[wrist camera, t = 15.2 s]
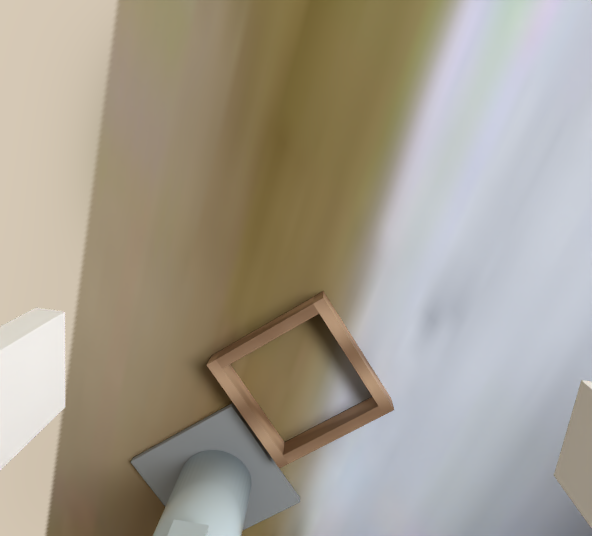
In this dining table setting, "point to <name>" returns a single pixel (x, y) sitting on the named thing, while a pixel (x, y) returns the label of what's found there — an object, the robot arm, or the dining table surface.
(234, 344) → the frame
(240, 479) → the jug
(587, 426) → the robot arm
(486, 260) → the dining table surface
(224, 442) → the coaster
